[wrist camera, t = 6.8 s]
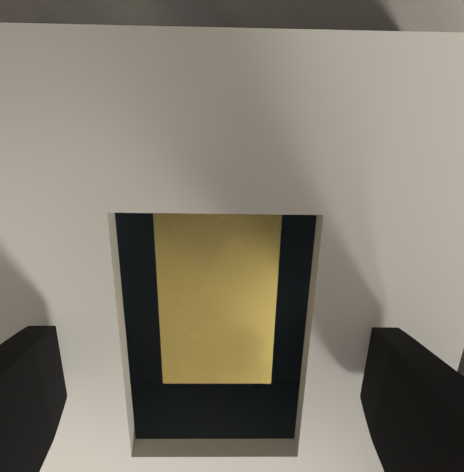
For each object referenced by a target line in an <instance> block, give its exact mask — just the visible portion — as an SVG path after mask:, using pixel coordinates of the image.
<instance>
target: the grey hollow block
mask: <svg viewBox="0 0 464 472" xmlns="http://www.w3.org/2000/svg"><path fill="white" fill-rule="evenodd" d="M153 213H184V214H272V215H282V223H281V239H280V254H279V269H278V285H277V300H276V315H275V330H274V346H273V361H272V376H271V384H163V376H162V359H161V342H160V324H159V307H158V290H157V273H156V255H155V238H154V221H153ZM27 326H56V331H57V337H58V343H59V349H60V355H61V361H62V367H63V373H64V379H65V385H66V391H67V400H66V403H65V406H64V410H63V413H62V416H61V420H60V423H59V426H58V429H57V432H56V435H55V438H54V440H53V443H52V445H51V447H50V449H49V452H48V454H47V456H46V458H45V461H44V463H43V465H42V467H41V469H40V472H384V470H383V467H382V465H381V462H380V460H379V457H378V455H377V452H376V450H375V447H374V445H373V442H372V440H371V436H370V433H369V429H368V426H367V422H366V419H365V415H364V411H363V407H362V403H361V399H360V393H361V388H362V382H363V376H364V370H365V364H366V359H367V353H368V347H369V341H370V335H371V330H372V327H397V328H400V329H401V330H403V331H404V332H406V333H407V334H408V335H410V336H411V337H412V338H414V339H415V340H416V341H418V342H419V343H420V344H422V345H423V346H424V347H426V348H427V349H428V350H430V351H431V352H432V353H433V354H435V355H436V356H437V357H439V358H440V359H441V360H443V361H444V362H445V363H446V364H448V365H449V366H450V367H452V368H453V369H454V370H456V371H457V370H458V367H459V363H460V360H461V356H462V352H463V349H464V33H459V32H414V31H368V30H322V29H277V28H231V27H186V26H140V25H94V24H49V23H3V22H0V344H1V343H3V342H4V341H6V340H7V339H9V338H10V337H12V336H13V335H14V334H16V333H17V332H19V331H21V330H22V329H24V328H25V327H27Z"/></svg>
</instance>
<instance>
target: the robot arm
mask: <svg viewBox="0 0 464 472" xmlns="http://www.w3.org/2000/svg"><path fill="white" fill-rule="evenodd" d="M360 399H361V403H362V407H363V411H364V415H365V419H366V422H367V426H368V429H369V433H370V436H371V440H372V442H373V445H374V447H375V450H376V452H377V455H378V457H379V460H380V462H381V465H382V467H383V470H384V472H464V376H462V375H461V374H460V373H458V372H457V371H456V370H454V369H453V368H452V367H450V366H449V365H448V364H446V363H445V362H444V361H443V360H441V359H440V358H439V357H437V356H436V355H435V354H433V353H432V352H431V351H430V350H428V349H427V348H426V347H424V346H423V345H422V344H420V343H419V342H418V341H416V340H415V339H414V338H412V337H411V336H410V335H408V334H407V333H406V332H404V331H403V330H401V329H400V328H397V327H372V330H371V335H370V341H369V347H368V353H367V359H366V364H365V370H364V376H363V382H362V388H361V393H360ZM66 400H67V391H66V385H65V379H64V373H63V367H62V361H61V355H60V349H59V343H58V337H57V331H56V326H27V327H25V328H24V329H22V330H21V331H19V332H17V333H16V334H14V335H13V336H12V337H10V338H9V339H7V340H6V341H4V342H3V343H1V344H0V472H40V469H41V467H42V465H43V463H44V461H45V458H46V456H47V454H48V452H49V449H50V447H51V445H52V443H53V440H54V438H55V435H56V432H57V429H58V426H59V423H60V420H61V416H62V413H63V410H64V406H65V403H66Z"/></svg>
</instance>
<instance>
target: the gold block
mask: <svg viewBox="0 0 464 472" xmlns="http://www.w3.org/2000/svg"><path fill="white" fill-rule="evenodd" d="M153 221H154V238H155V255H156V273H157V290H158V307H159V324H160V342H161V359H162V376H163V384H271V376H272V361H273V346H274V330H275V315H276V300H277V285H278V269H279V254H280V239H281V223H282V215H272V214H184V213H153Z"/></svg>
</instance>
